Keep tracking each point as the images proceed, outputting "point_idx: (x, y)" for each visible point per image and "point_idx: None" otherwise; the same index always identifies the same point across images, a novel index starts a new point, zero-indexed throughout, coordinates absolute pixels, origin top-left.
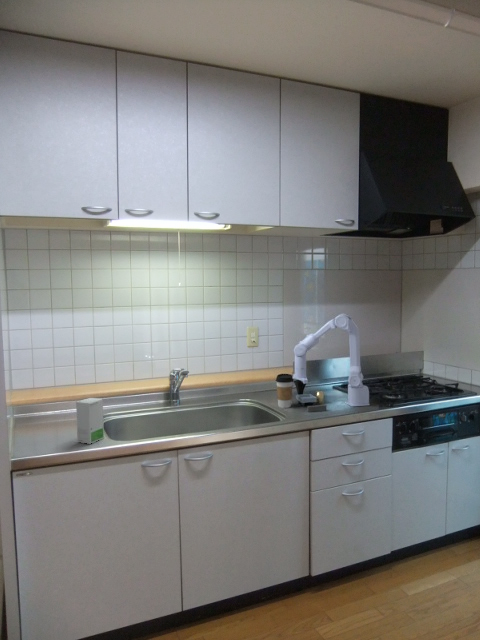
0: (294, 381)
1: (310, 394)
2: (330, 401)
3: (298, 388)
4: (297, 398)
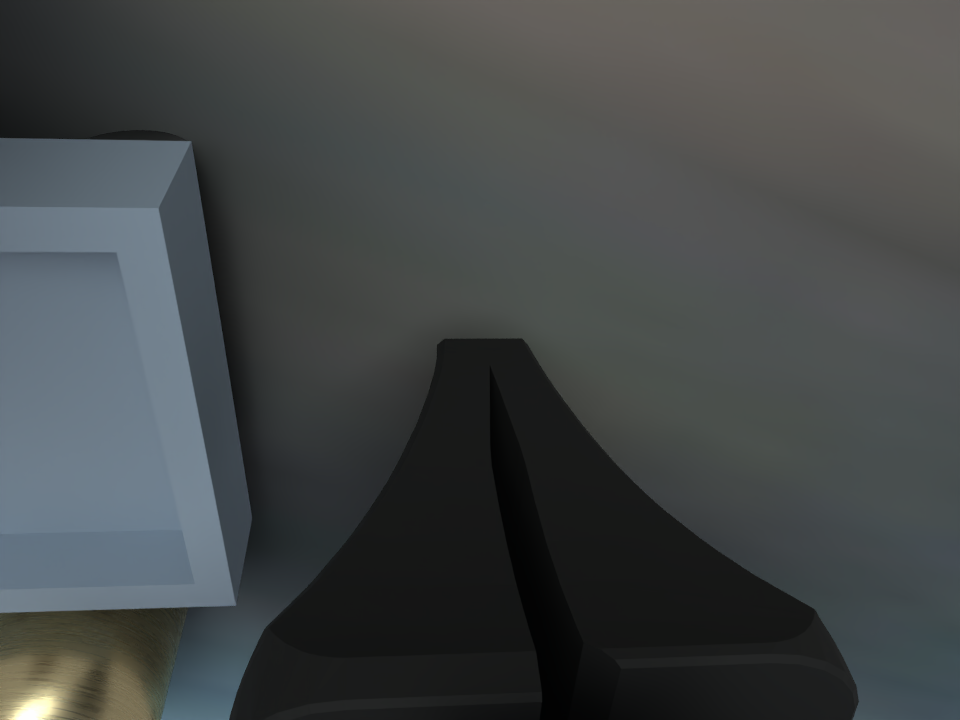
0: (658, 660)
1: (171, 592)
2: (208, 712)
3: (384, 490)
4: (39, 159)
